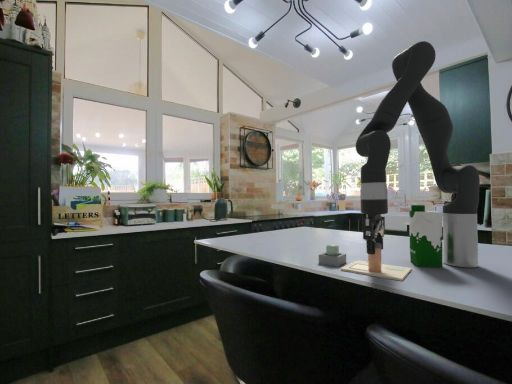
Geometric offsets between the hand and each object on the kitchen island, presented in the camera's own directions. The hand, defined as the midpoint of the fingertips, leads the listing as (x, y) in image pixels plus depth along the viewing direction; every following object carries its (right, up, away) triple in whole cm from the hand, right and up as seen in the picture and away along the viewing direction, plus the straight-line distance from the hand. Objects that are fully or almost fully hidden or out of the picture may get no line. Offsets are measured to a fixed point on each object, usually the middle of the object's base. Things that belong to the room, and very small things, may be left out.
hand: (375, 251), depth 80 cm
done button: (-9, -5, +12) cm, 16 cm away
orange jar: (0, -6, 0) cm, 6 cm away
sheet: (+1, -6, +3) cm, 7 cm away
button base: (-9, -7, +12) cm, 17 cm away
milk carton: (+21, -7, +9) cm, 24 cm away
